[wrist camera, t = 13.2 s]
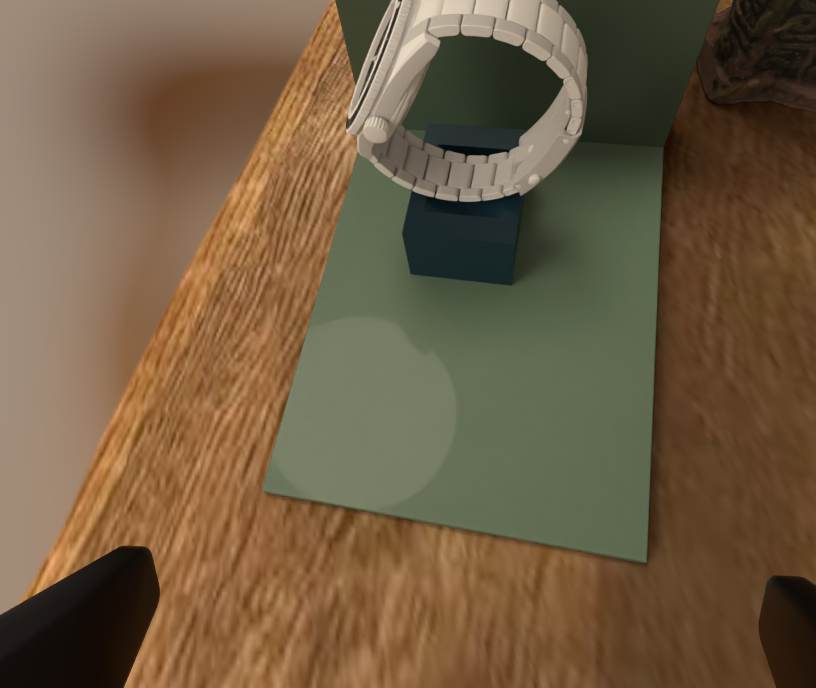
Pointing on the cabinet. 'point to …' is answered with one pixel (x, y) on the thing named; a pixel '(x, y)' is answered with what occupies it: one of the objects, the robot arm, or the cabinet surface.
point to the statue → (761, 54)
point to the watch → (465, 132)
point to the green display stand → (503, 307)
